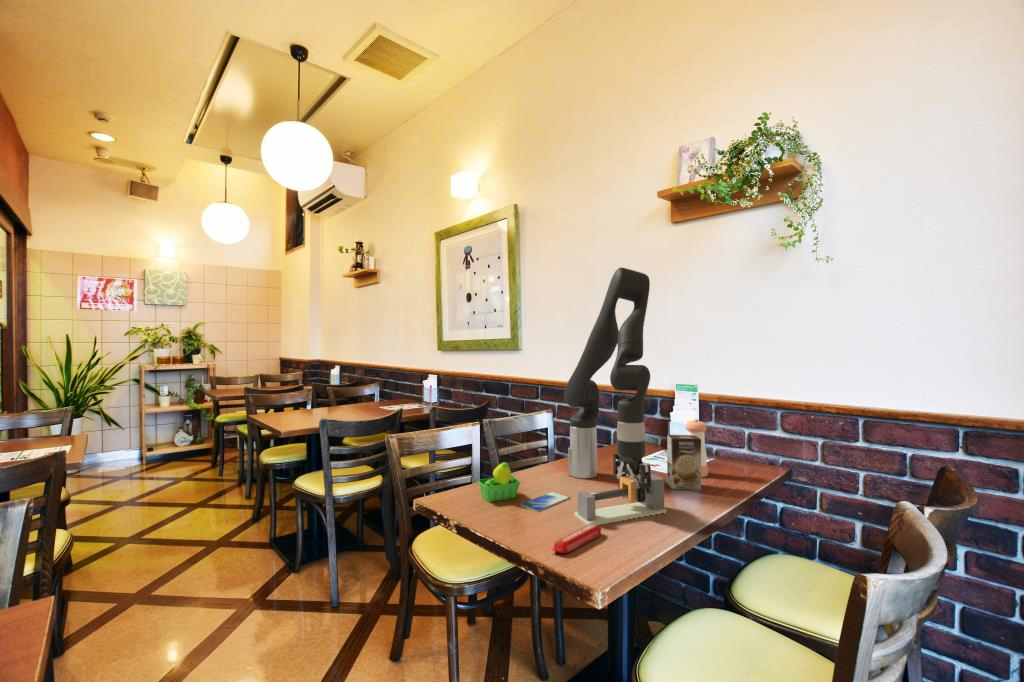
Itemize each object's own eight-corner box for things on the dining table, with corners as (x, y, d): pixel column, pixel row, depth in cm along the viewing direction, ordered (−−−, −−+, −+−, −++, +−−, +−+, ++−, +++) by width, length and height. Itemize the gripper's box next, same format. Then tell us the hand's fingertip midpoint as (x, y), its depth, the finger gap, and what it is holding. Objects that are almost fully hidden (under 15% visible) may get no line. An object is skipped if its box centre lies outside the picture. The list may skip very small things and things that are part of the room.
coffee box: (671, 489, 143) (671, 438, 143) (666, 483, 150) (666, 434, 150) (702, 490, 142) (701, 438, 142) (695, 483, 149) (695, 434, 149)
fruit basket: (510, 490, 144) (510, 455, 144) (523, 499, 136) (523, 461, 136) (477, 496, 139) (476, 459, 139) (488, 505, 131) (487, 466, 131)
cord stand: (589, 526, 116) (588, 491, 116) (574, 515, 123) (573, 482, 123) (666, 513, 124) (666, 480, 124) (648, 503, 131) (647, 472, 131)
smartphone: (571, 497, 137) (538, 510, 126) (571, 499, 137) (538, 513, 126) (552, 491, 142) (519, 503, 131) (552, 493, 142) (519, 506, 131)
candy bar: (591, 532, 113) (591, 519, 113) (603, 536, 111) (603, 524, 111) (549, 554, 102) (549, 540, 102) (562, 559, 99) (562, 545, 99)
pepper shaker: (683, 470, 163) (682, 417, 163) (704, 471, 162) (703, 417, 162) (688, 476, 156) (687, 421, 156) (710, 477, 155) (709, 421, 155)
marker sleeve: (630, 503, 122) (630, 482, 122) (619, 497, 127) (619, 476, 127) (643, 501, 123) (643, 480, 123) (632, 495, 128) (631, 475, 128)
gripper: (659, 441, 119) (659, 503, 119) (627, 431, 133) (627, 487, 133) (634, 444, 117) (635, 507, 117) (604, 433, 130) (605, 490, 130)
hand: (631, 496), depth 125 cm, fingers open, 8 cm apart
